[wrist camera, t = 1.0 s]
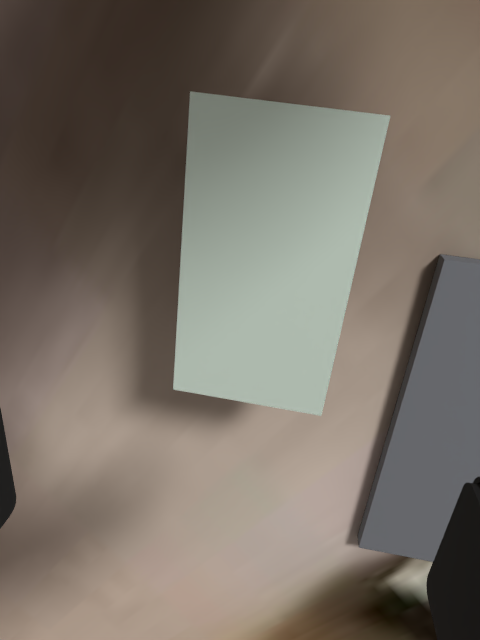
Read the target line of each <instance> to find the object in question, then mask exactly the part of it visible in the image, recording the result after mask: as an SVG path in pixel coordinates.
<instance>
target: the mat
mask: <svg viewBox="0 0 480 640" xmlns="http://www.w3.org/2000/svg"><path fill="white" fill-rule="evenodd" d="M477 477H480V259H472V258H464V257H457V256H449V255H441V254H440V256H439V259H438V263H437V266H436V269H435V273H434V276H433V280H432V283H431V287H430V290H429V293H428V297H427V300H426V304H425V307H424V311H423V314H422V317H421V321H420V324H419V328H418V331H417V335H416V338H415V341H414V345H413V348H412V352H411V355H410V358H409V362H408V365H407V369H406V372H405V376H404V379H403V382H402V386H401V389H400V393H399V396H398V400H397V403H396V406H395V410H394V413H393V417H392V420H391V423H390V427H389V430H388V434H387V437H386V441H385V444H384V447H383V451H382V454H381V458H380V461H379V465H378V468H377V471H376V475H375V478H374V482H373V485H372V489H371V492H370V495H369V499H368V502H367V506H366V509H365V512H364V516H363V519H362V523H361V526H360V530H359V533H358V544H359V547H360V548H365V549H370V550H375V551H380V552H385V553H391V554H396V555H401V556H406V557H411V558H416V559H422V560H427V561H432V562H433V561H434V559H435V556H436V554H437V551H438V549H439V546H440V543H441V541H442V538H443V536H444V533H445V531H446V528H447V526H448V523H449V521H450V518H451V516H452V513H453V511H454V508H455V505H456V503H457V500H458V498H459V495H460V493H461V490H462V488H463V486H464V484H465V483H473V481H474V480H475V478H477Z"/></svg>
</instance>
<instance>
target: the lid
mask: <svg viewBox="0 0 480 640" xmlns="http://www.w3.org/2000/svg"><path fill="white" fill-rule="evenodd" d="M389 120H390V116H389V115H380V114H372V113H364V112H356V111H347V110H339V109H331V108H323V107H314V106H306V105H298V104H290V103H281V102H273V101H265V100H257V99H248V98H240V97H232V96H224V95H215V94H207V93H199V92H191V91H190V103H189V121H188V138H187V156H186V173H185V191H184V208H183V226H182V243H181V261H180V278H179V296H178V313H177V331H176V348H175V366H174V383H173V390H179V391H185V392H190V393H196V394H201V395H207V396H213V397H218V398H224V399H230V400H235V401H241V402H246V403H252V404H258V405H263V406H269V407H275V408H280V409H286V410H292V411H297V412H303V413H308V414H314V415H320V416H321V415H322V411H323V406H324V402H325V398H326V393H327V389H328V385H329V380H330V376H331V372H332V367H333V363H334V358H335V354H336V350H337V345H338V341H339V337H340V332H341V328H342V324H343V319H344V315H345V311H346V306H347V302H348V298H349V293H350V289H351V285H352V280H353V276H354V272H355V267H356V263H357V259H358V254H359V250H360V246H361V241H362V237H363V232H364V228H365V224H366V219H367V215H368V211H369V206H370V202H371V198H372V193H373V189H374V185H375V180H376V176H377V172H378V167H379V163H380V159H381V154H382V150H383V146H384V141H385V137H386V133H387V128H388V124H389Z"/></svg>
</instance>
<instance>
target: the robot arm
mask: <svg viewBox="0 0 480 640" xmlns="http://www.w3.org/2000/svg"><path fill="white" fill-rule="evenodd" d="M15 503H16V493H15V488H14V482H13V476H12V471H11V465H10V459H9V454H8V448H7V442H6V437H5V431H4V425H3V420H2V414H1V409H0V528H1V527H2V526H3V524H4V523H5V522H6V520H7V519H8V518H9V516H10V515H11V513H12V511H13V509H14V507H15ZM427 595H428V600H429V605H430V609H431V613H432V618H433V622H434V627H435V631H436V635H437V640H480V477H477V478H475V480H474V481H473V483H465V484H464V486H463V488H462V490H461V493H460V495H459V498H458V500H457V503H456V505H455V508H454V511H453V513H452V516H451V518H450V521H449V523H448V526H447V528H446V531H445V533H444V536H443V538H442V541H441V543H440V546H439V549H438V551H437V554H436V556H435V559H434V561H433V564H432V566H431V569H430V571H429V574H428V577H427Z"/></svg>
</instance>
